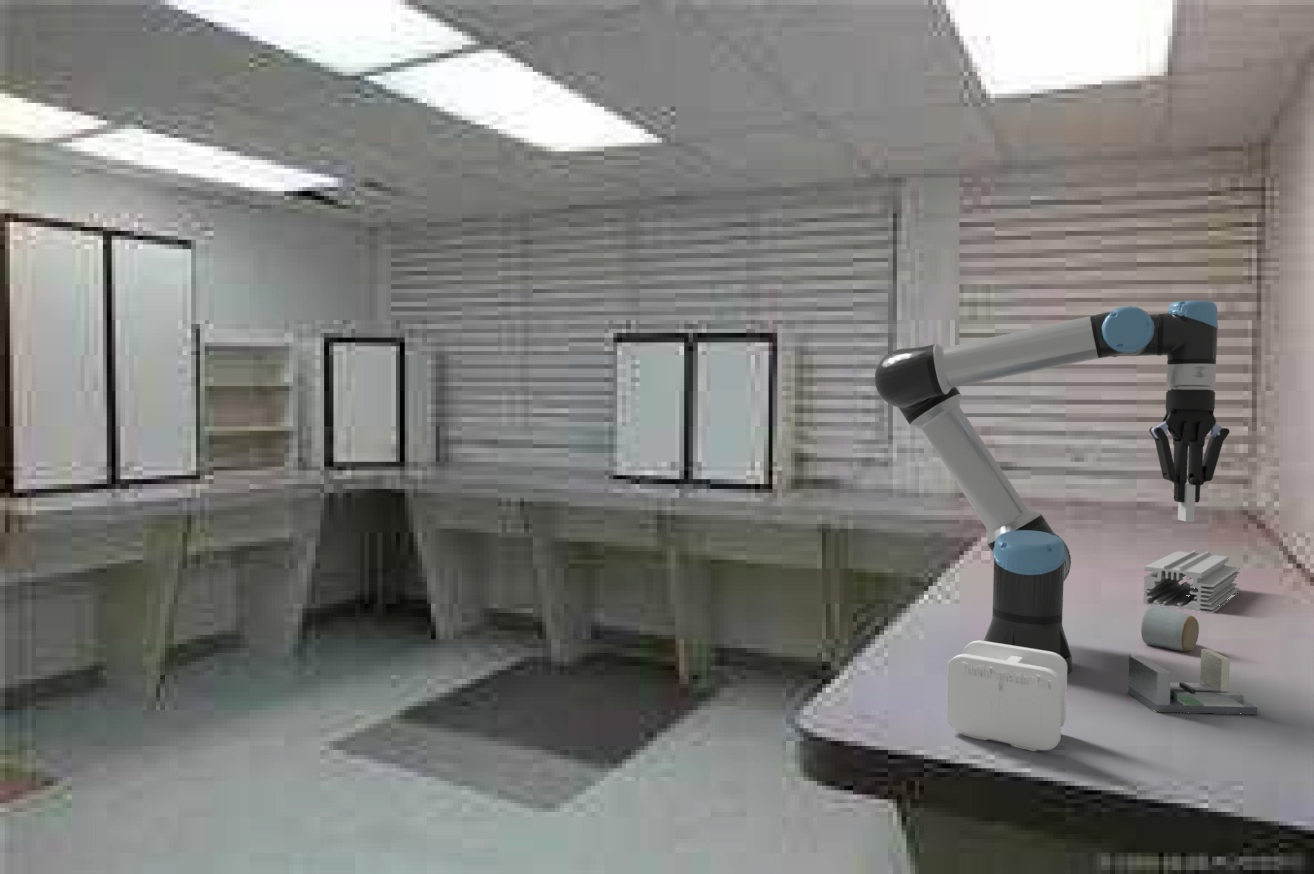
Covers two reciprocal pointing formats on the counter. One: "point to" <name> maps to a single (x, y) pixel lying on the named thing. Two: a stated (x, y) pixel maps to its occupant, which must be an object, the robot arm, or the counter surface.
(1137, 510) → the counter surface
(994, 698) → the cable organizer
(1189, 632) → the grey tan cylinder
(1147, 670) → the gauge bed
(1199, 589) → the aluminum extrusion profile
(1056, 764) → the counter surface
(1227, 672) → the sliding gauge carriage
